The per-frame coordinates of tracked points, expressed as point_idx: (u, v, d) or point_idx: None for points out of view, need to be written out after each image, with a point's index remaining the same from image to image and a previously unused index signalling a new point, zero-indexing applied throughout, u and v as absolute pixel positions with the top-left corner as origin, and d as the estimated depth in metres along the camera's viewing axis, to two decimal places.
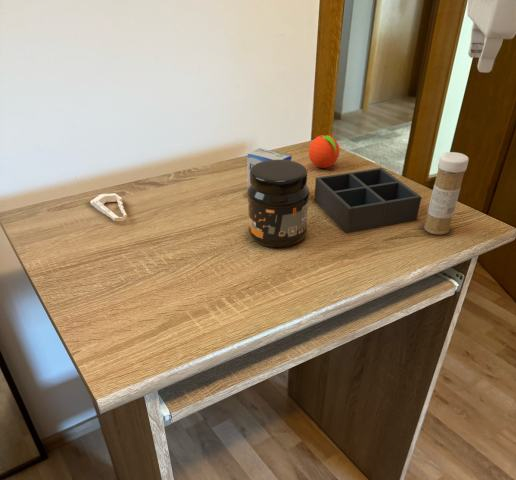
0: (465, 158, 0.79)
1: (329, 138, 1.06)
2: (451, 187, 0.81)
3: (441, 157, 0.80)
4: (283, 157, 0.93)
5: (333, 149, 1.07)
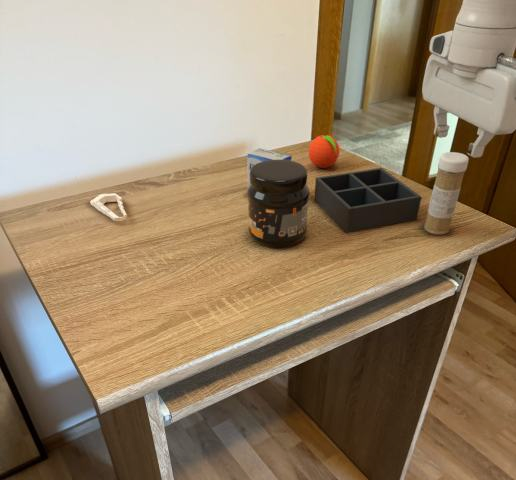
0: (465, 158, 0.79)
1: (329, 138, 1.06)
2: (451, 187, 0.81)
3: (441, 157, 0.80)
4: (283, 157, 0.93)
5: (333, 149, 1.07)
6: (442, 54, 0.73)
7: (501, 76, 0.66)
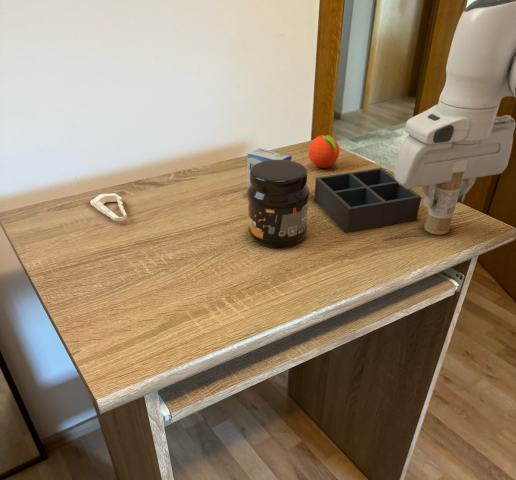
0: None
1: (329, 138, 1.06)
2: (451, 187, 0.81)
3: None
4: (283, 157, 0.93)
5: (333, 149, 1.07)
6: (452, 140, 0.74)
7: (506, 132, 0.78)
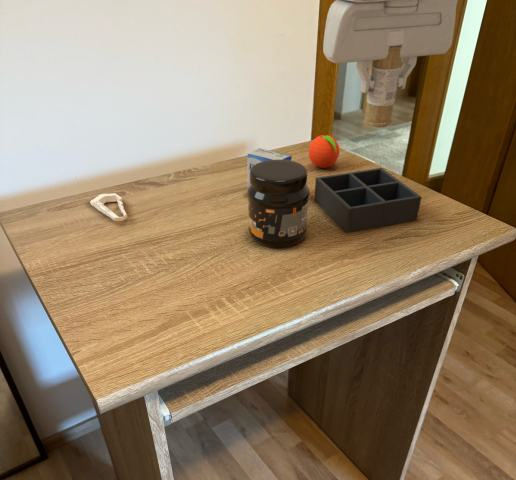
0: None
1: (329, 138, 1.06)
2: (388, 65, 0.73)
3: None
4: (283, 157, 0.93)
5: (333, 149, 1.07)
6: None
7: None
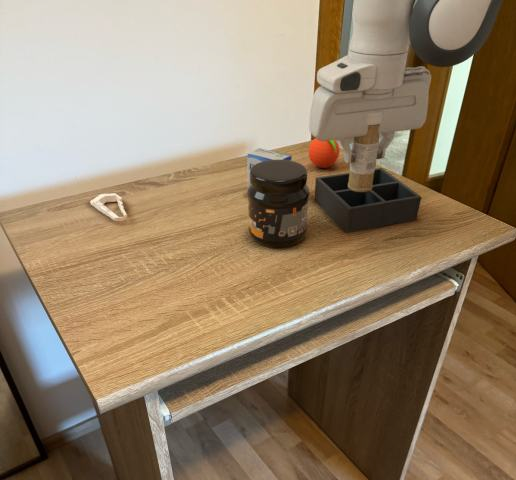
0: None
1: None
2: (368, 141, 0.81)
3: None
4: (283, 157, 0.93)
5: (333, 149, 1.07)
6: (361, 88, 0.73)
7: (420, 83, 0.77)
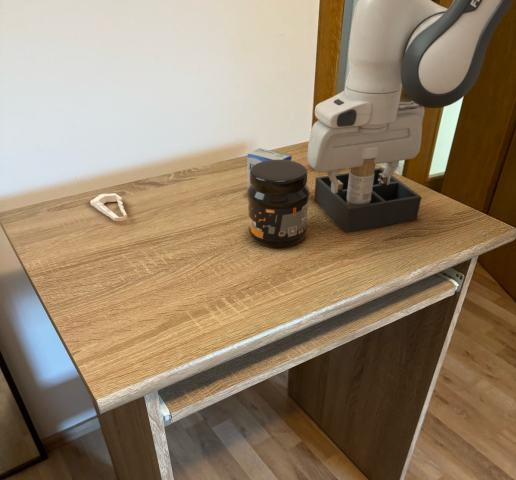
0: None
1: None
2: (364, 173, 0.84)
3: None
4: (283, 157, 0.93)
5: None
6: (356, 124, 0.76)
7: (414, 117, 0.81)
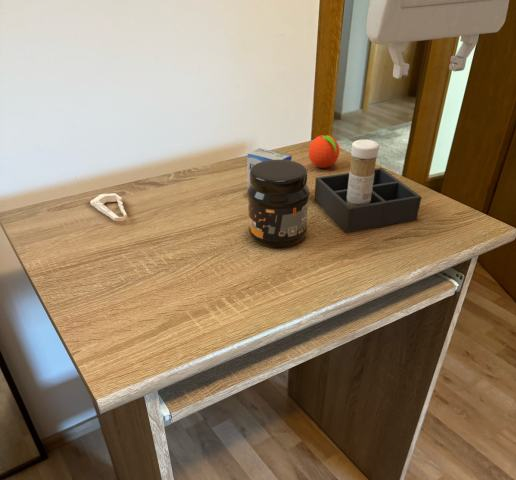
0: (375, 145, 0.82)
1: (329, 138, 1.06)
2: (364, 173, 0.84)
3: (353, 144, 0.83)
4: (283, 157, 0.93)
5: (333, 149, 1.07)
6: None
7: None
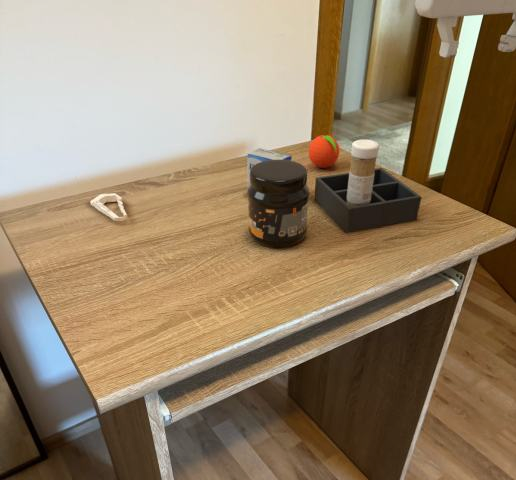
0: (375, 145, 0.82)
1: (329, 138, 1.06)
2: (364, 173, 0.84)
3: (353, 144, 0.83)
4: (283, 157, 0.93)
5: (333, 149, 1.07)
6: None
7: None
